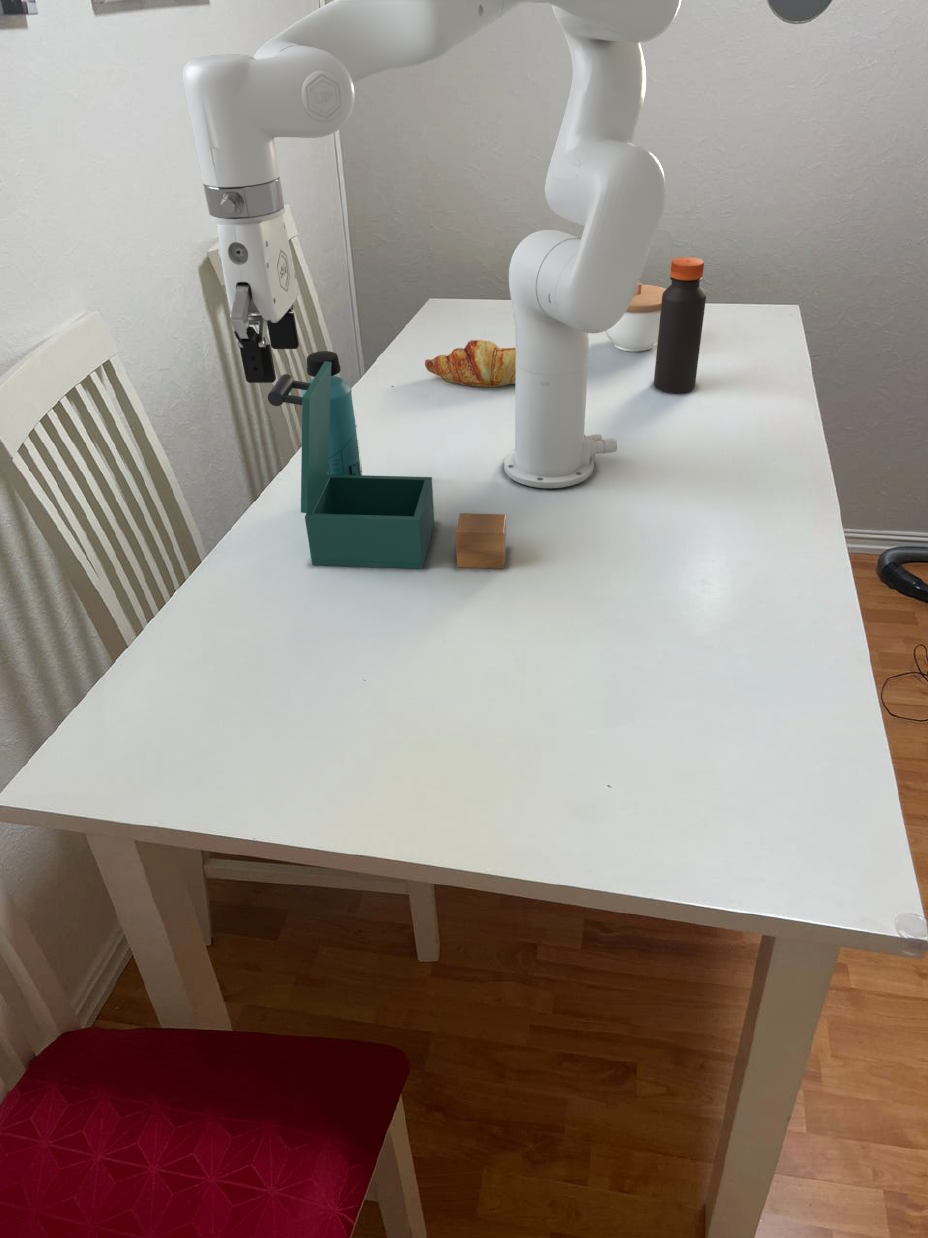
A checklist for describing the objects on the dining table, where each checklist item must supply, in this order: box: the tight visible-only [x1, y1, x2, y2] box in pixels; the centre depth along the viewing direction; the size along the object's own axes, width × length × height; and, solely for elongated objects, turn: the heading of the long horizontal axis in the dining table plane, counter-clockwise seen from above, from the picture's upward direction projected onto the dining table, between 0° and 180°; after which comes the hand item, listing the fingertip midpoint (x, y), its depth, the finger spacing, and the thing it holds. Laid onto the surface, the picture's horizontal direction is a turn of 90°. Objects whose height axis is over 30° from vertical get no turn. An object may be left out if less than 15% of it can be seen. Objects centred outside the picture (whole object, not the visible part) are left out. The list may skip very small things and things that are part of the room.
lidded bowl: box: [604, 282, 667, 353], centre depth 164 cm, size 13×13×11 cm
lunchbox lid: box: [267, 361, 331, 514], centre depth 107 cm, size 14×11×5 cm
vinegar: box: [653, 256, 707, 394], centre depth 146 cm, size 7×7×20 cm
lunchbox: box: [304, 474, 435, 570], centre depth 113 cm, size 14×11×7 cm
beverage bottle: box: [301, 350, 363, 475], centre depth 118 cm, size 6×7×20 cm
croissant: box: [424, 339, 516, 388], centre depth 155 cm, size 21×10×8 cm, turn 83°
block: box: [455, 512, 507, 570], centre depth 110 cm, size 6×4×5 cm
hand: (273, 364), depth 102 cm, fingers open, 9 cm apart
